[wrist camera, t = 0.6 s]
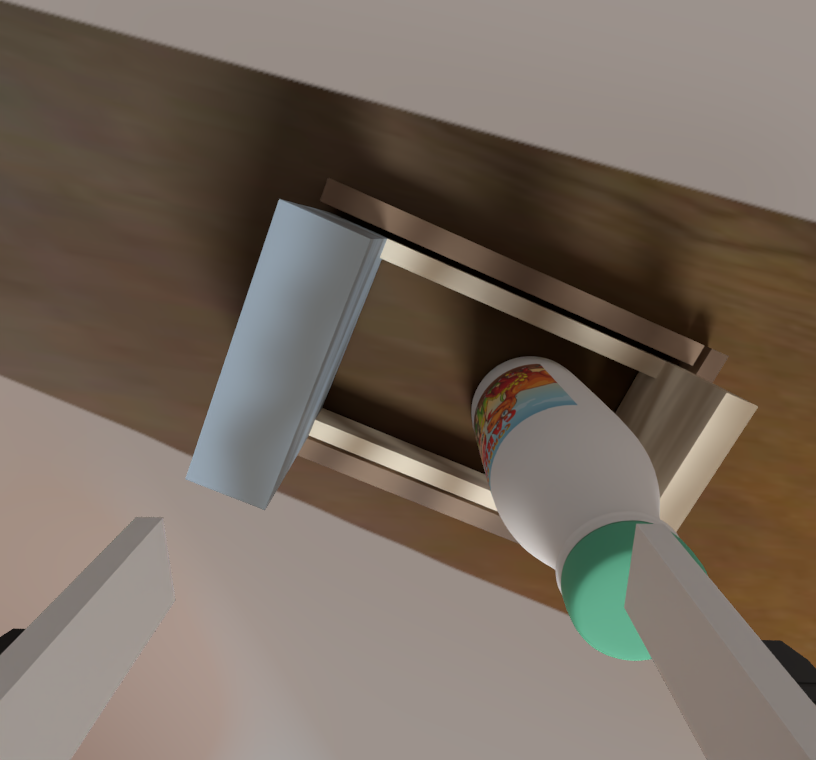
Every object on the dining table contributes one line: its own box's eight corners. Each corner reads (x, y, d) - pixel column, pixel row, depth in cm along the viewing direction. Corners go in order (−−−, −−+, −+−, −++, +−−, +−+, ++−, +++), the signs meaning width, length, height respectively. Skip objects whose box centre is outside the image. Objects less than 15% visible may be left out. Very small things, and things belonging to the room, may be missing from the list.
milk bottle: (574, 343, 34) (766, 479, 15) (588, 448, 36) (773, 687, 17) (460, 365, 35) (504, 523, 16) (480, 467, 37) (540, 718, 18)
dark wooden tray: (249, 419, 36) (237, 431, 34) (335, 181, 32) (328, 177, 30) (583, 553, 38) (594, 573, 36) (708, 348, 34) (728, 356, 32)
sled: (262, 401, 36) (185, 479, 24) (331, 212, 32) (279, 198, 21) (576, 528, 38) (643, 657, 26) (673, 363, 34) (801, 428, 23)
